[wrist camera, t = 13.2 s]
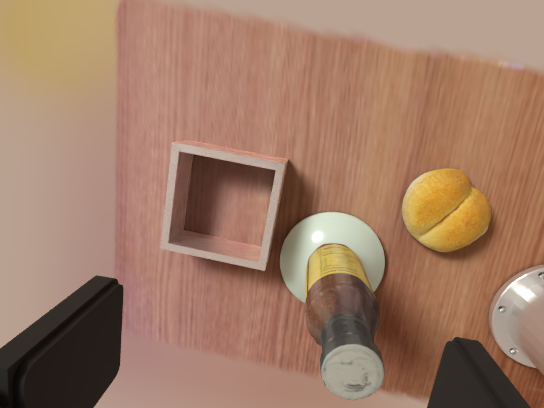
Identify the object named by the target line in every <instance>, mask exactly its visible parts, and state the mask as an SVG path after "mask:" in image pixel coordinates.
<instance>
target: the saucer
mask: <svg viewBox="0 0 544 408" xmlns="http://www.w3.org/2000/svg"><path fill="white" fill-rule="evenodd" d="M329 243H338V244H343V245H345V246H347V247H348V248H350V249H351V250H352V251H353V252H354V253H355V254H356V255H357V256H358V257H359V259H360V261H361V263H362V266H363V268H364V271H365V273H366V275H367V278H368V280H369V283H370V285H371V288H372V290H373V292H374V291H375V290H376V289H377V287H378V286H379V284H380V282H381V279H382V277H383V273H384V268H385V257H384V251H383V248H382V245H381V243H380V241H379V239H378V237H377V235H376V234H375V232H374V231H373V230H372V229H371V228H370V227H369V226H368V225H367V224H366V223H365V222H363V221H362V220H361V219H359V218H357V217H355V216H353V215H350V214H347V213H343V212H337V211H327V212H320V213H316V214H313V215H311V216H308V217H306V218H305V219H303V220H301V221H300V222H299V223H297V224H296V225H295V226H294V227H293V228H292V229H291V231H290V232H289V233H288V235H287V237H286V238H285V240H284V243H283V246H282V249H281V254H280V269H281V273H282V277H283V279H284V281H285V284H286V285H287V287H288V288H289V290H290V291H291V292H292V293H293V294H294V295H295V296H296V297H297V298H298V299H299V300H301V301H302V302H304V303H305V283H306V266H307V263H308V259H309V257H310V256H311V254H312V253H313V252H314V251H315V250H316V249H317V248H318V247H320V246H321V245H323V244H329Z"/></svg>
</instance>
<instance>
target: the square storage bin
mask: <svg viewBox="0 0 544 408" xmlns="http://www.w3.org/2000/svg"><path fill="white" fill-rule="evenodd" d="M194 154H195V155H200V156H206V157H211V158H216V159H221V160H226V161H231V162H236V163H241V164H246V165H251V166H257V167H262V168H267V169H272V170H276V172H275V177H274V183H273V188H272V193H271V199H270V204H269V210H268V215H267V221H266V226H265V231H264V237H263V242H262V246H259V245H254V244H249V243H244V242H240V241H235V240H230V239H225V238H221V237H216V236H211V235H206V234H202V233H197V232H192V231H187V230H184V225H185V218H186V210H187V202H188V194H189V187H190V179H191V171H192V163H193V156H194ZM287 164H288V159H287V158H282V157H277V156H271V155H266V154H261V153H256V152H251V151H246V150H240V149H235V148H230V147H225V146H220V145H215V144H209V143H204V142H199V141H194V140H189V139H188V140H182V141H175V142H172V150H171V158H170V167H169V176H168V185H167V194H166V202H165V211H164V220H163V229H162V237H161V246H160V249H165V250H169V251H174V252H179V253H183V254H188V255H193V256H197V257H202V258H207V259H211V260H216V261H221V262H225V263H230V264H235V265H239V266H244V267H249V268H253V269H258V270H263V271H265V269H266V266H267V263H268V260H269V256H270V253H271V247H272V242H273V237H274V232H275V227H276V221H277V216H278V211H279V206H280V200H281V195H282V190H283V185H284V179H285V174H286V169H287Z"/></svg>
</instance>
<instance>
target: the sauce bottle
mask: <svg viewBox="0 0 544 408" xmlns="http://www.w3.org/2000/svg"><path fill="white" fill-rule="evenodd" d="M305 310H306V322H307V326H308V330H309V332H310V334H311V336H312V337H313V338H314V339H315V341H316V343H317V344H319V345H321V346H322V354H321V358H320V370H321V377H322V379H323V381H324V384H325V385H326V386H327V388H328V389H329V390H330V391H331V392H332V393H333V394H335V395H337V396H339V397H341V398H344V399H348V400H358V399H362V398H365V397H367V396H369V395H371V394H373V393H375V392H376V391H377V390H378V389H379V388H380V387H381V384H382V383H383V380H384V364H383V360H382V356H381V353H380V351H379V350H378V348H377V346H376V345H375V344H374V335H375V332H376V330H377V327H378V325H379V320H380V311H379V306H378V303H377V300H376V298H375V295H374V292H373V290H372V288H371V285H370V283H369V280H368V278H367V275H366V273H365V271H364V268H363V266H362V263H361V261H360V259H359V257H358V256H357V255H356V254H355V253H354V252H353V251H352V250H351V249H350V248H348V247H347V246H345V245H343V244H338V243H329V244H323V245H321V246H320V247H318V248H317V249H316V250H315V251H314V252H313V253H312V254H311V256H310V257H309V259H308V263H307V266H306V283H305Z"/></svg>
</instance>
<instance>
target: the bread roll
mask: <svg viewBox="0 0 544 408" xmlns="http://www.w3.org/2000/svg"><path fill="white" fill-rule="evenodd" d="M402 215H403V220H404V222H405V225H406V227H407V229H408V231H409V233H410V234H411V235H412V236H413V237H414V238H416V239H417V240H418V241H419V242H420V243H422V244H423V245H424V246H426V247H428V248H430V249H433V250H435V251H438V252H451V251H454V250H458V249H460V248H462V247H465V246H467V245H470V244H471V243H472V242H474V241H475V240H476V239H478V238H479V237H480V236H482V235H483V234H484V233H485V232H486V231H487V229H488V225H489V222H490V219H491V207H490V204H489V201H488V200H487V198H486V197H485V196H484V195H483V194H482V193H481V192H480V191H479V190H477V189H475V188H473V187H472V186H471V185H470V180H469V178H468V177H467V175H466V174H465V173H464V172H462V171H459V170H457V169H438V170H434V171H430V172H427V173H425V174H422V175H421V176H419V177H418V178H416V179H415V180H414V181H413V182H412V183H411V185H410V186H409V188H408V190H407V192H406V194H405V196H404V200H403V204H402Z"/></svg>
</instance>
